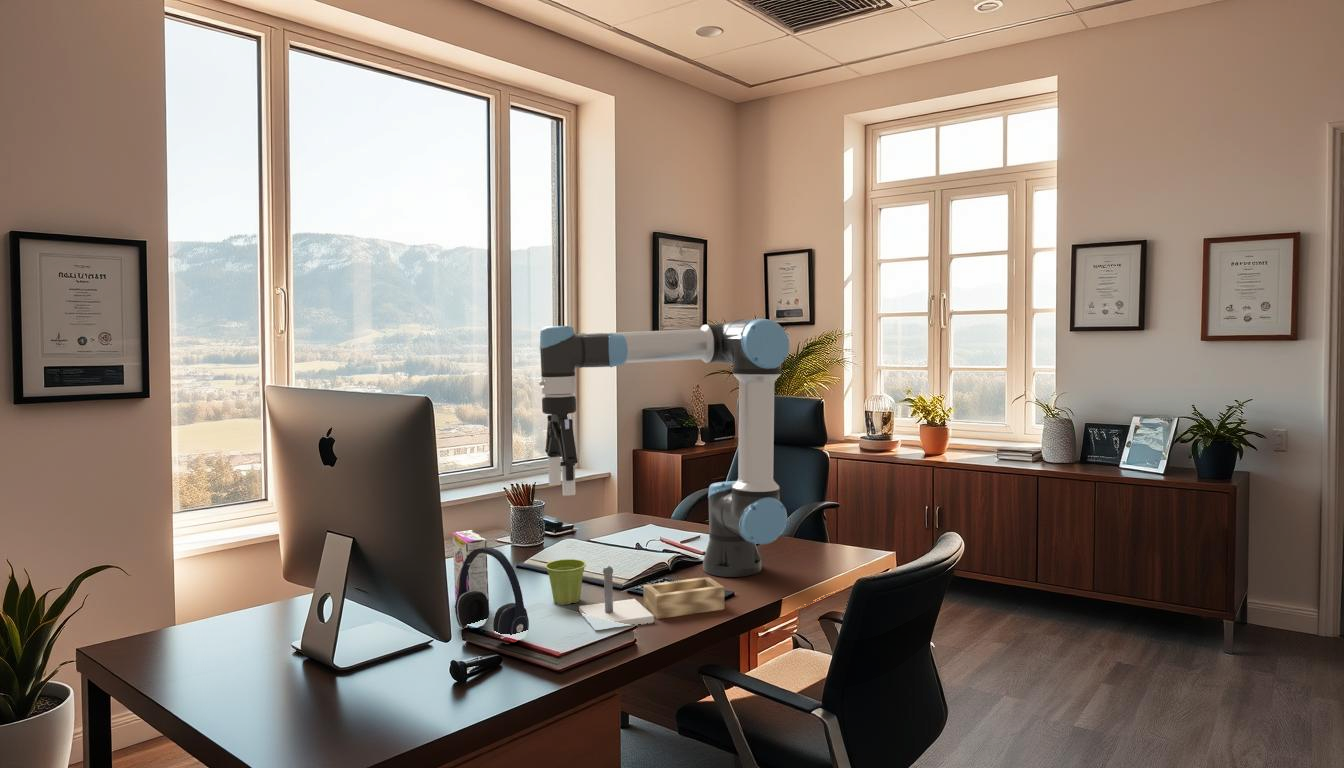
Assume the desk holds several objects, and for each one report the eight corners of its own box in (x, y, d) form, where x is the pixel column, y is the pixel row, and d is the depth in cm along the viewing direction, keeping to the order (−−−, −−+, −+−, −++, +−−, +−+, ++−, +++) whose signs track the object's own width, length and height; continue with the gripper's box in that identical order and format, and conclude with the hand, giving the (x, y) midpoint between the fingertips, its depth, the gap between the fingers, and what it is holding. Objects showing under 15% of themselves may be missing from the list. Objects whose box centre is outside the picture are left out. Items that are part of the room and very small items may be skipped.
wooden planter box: (708, 597, 204) (708, 576, 204) (724, 609, 196) (724, 587, 195) (643, 606, 198) (643, 585, 198) (657, 618, 190) (656, 596, 190)
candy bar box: (453, 601, 206) (451, 532, 205) (474, 597, 208) (472, 529, 207) (468, 613, 196) (465, 541, 195) (490, 609, 199) (487, 538, 198)
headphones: (449, 629, 186) (446, 544, 185) (477, 621, 191) (474, 538, 190) (507, 651, 173) (504, 560, 171) (534, 641, 178) (532, 553, 177)
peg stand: (634, 605, 200) (633, 555, 199) (653, 622, 188) (652, 569, 187) (579, 612, 195) (577, 561, 195) (595, 631, 183) (593, 576, 182)
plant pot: (580, 608, 198) (579, 570, 198) (540, 606, 200) (539, 569, 200) (592, 595, 208) (591, 559, 207) (554, 594, 209) (553, 558, 209)
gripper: (530, 392, 205) (533, 482, 207) (554, 400, 182) (558, 501, 183) (562, 391, 208) (565, 479, 209) (589, 398, 184) (592, 498, 186)
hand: (561, 490), depth 196 cm, fingers open, 13 cm apart
